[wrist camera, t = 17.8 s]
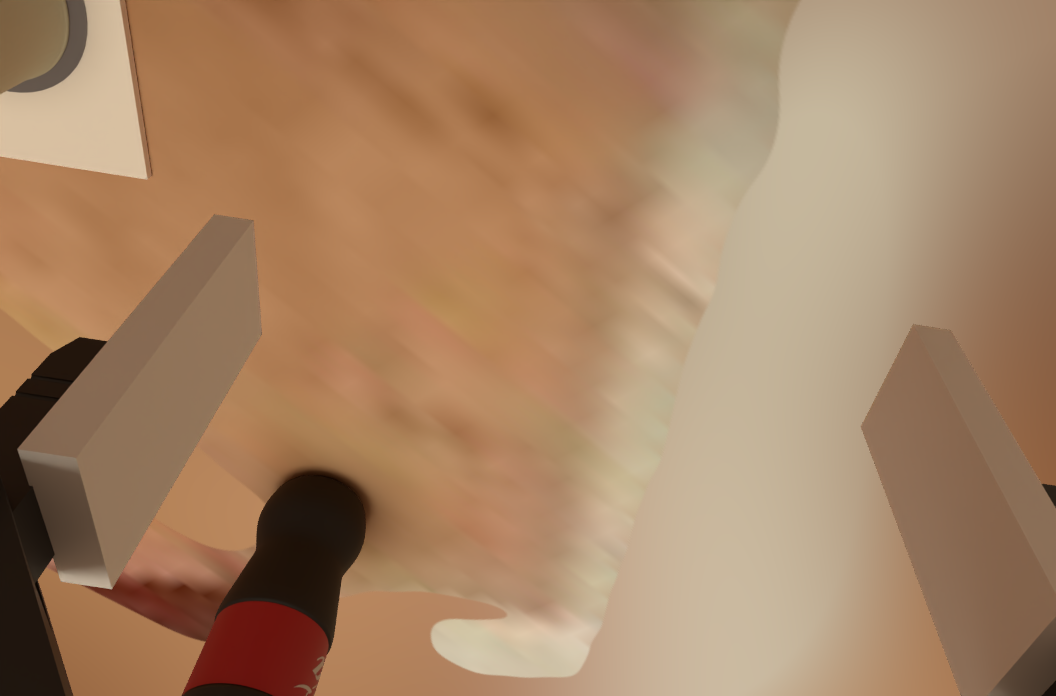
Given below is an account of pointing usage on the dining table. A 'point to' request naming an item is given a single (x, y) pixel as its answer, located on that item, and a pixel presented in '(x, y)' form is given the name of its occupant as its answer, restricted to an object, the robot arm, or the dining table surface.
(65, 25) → the can
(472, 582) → the dining table surface
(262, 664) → the cola bottle
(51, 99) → the card
